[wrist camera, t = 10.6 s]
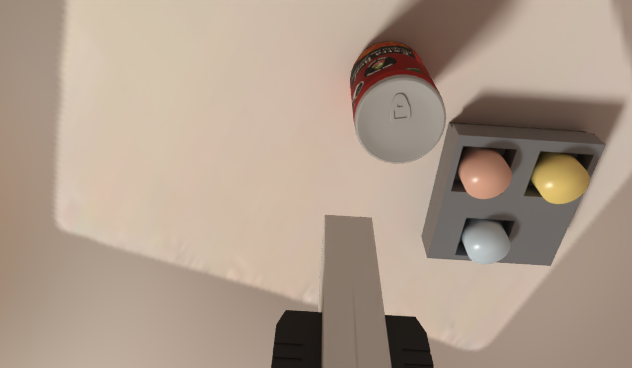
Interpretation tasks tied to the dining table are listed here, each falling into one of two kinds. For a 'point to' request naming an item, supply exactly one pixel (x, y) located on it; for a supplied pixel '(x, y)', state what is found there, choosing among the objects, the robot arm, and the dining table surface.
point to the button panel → (505, 192)
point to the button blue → (485, 240)
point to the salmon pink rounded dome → (483, 172)
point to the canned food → (395, 104)
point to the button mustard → (559, 177)
